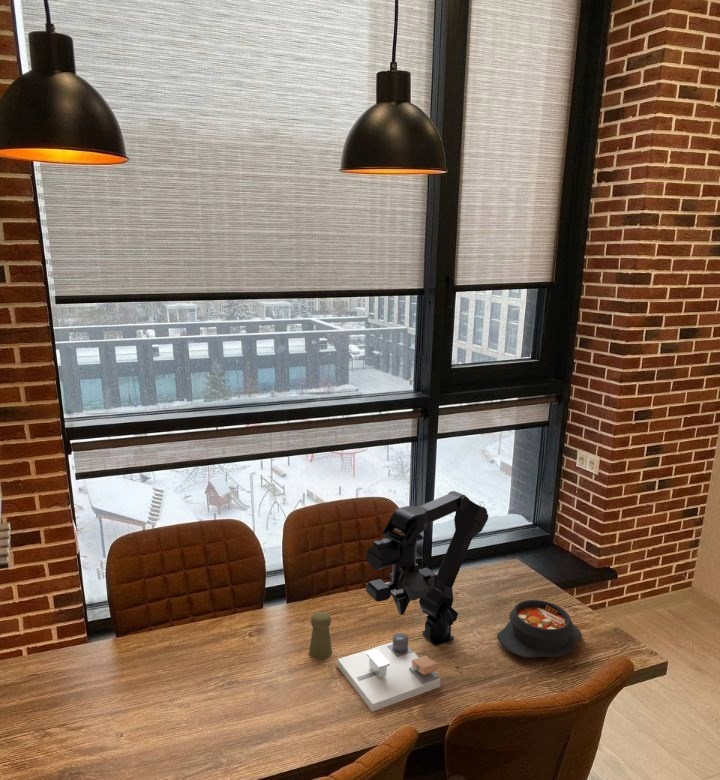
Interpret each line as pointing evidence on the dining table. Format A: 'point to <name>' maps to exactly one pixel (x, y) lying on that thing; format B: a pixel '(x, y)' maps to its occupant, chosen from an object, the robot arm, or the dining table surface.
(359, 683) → the panel
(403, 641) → the button
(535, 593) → the dining table surface
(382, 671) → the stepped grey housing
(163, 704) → the dining table surface
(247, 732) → the dining table surface
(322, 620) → the olive pawn
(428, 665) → the peach slab
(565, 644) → the casserole
